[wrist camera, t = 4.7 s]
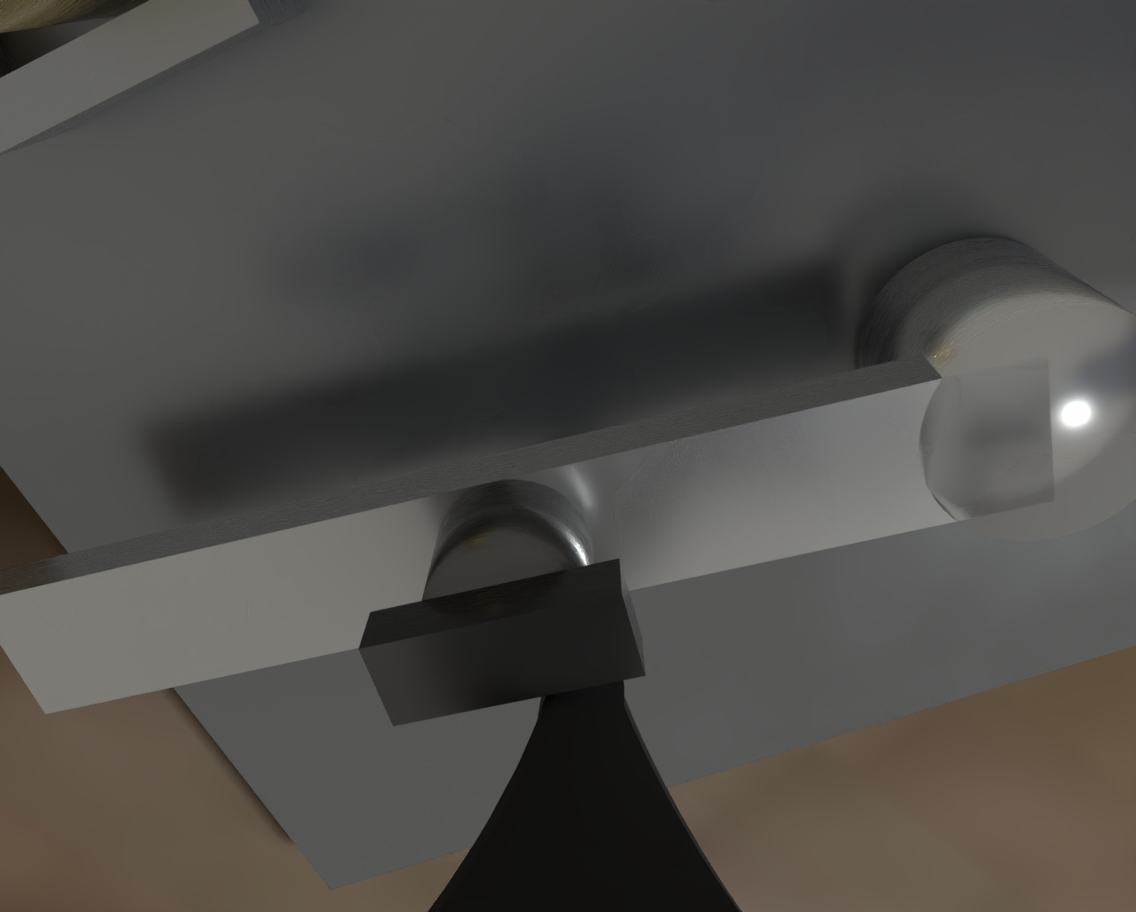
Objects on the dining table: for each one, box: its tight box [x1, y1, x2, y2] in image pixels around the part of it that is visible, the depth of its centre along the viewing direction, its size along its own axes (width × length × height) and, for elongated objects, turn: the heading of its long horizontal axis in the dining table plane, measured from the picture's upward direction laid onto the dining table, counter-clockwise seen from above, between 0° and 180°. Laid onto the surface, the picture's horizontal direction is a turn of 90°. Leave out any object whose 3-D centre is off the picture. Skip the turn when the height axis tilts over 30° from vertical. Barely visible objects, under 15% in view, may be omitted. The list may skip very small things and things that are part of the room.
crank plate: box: [0, 0, 1136, 890], centre depth 12 cm, size 22×18×3 cm
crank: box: [0, 237, 1136, 726], centre depth 12 cm, size 14×3×5 cm, turn 105°
